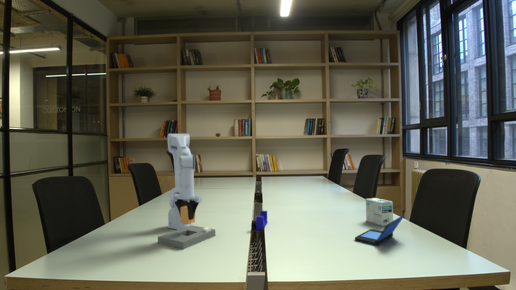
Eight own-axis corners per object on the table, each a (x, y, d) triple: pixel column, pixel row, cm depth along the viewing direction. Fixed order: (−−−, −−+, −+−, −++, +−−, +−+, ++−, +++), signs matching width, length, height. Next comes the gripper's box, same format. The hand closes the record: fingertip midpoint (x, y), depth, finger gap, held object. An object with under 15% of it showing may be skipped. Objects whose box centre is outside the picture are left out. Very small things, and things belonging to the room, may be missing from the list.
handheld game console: (370, 232, 124) (370, 210, 123) (404, 239, 114) (404, 215, 114) (353, 241, 112) (353, 217, 112) (388, 249, 103) (388, 223, 103)
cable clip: (258, 222, 141) (258, 210, 141) (267, 223, 140) (267, 210, 140) (253, 230, 129) (252, 216, 129) (263, 230, 128) (262, 217, 128)
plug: (180, 224, 117) (180, 207, 117) (188, 222, 121) (187, 205, 121) (187, 225, 115) (187, 208, 115) (195, 223, 119) (194, 206, 119)
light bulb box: (393, 224, 133) (393, 201, 133) (382, 226, 131) (382, 202, 131) (376, 219, 143) (376, 197, 143) (365, 220, 140) (365, 198, 140)
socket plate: (157, 242, 114) (157, 234, 114) (190, 230, 129) (190, 222, 129) (183, 249, 106) (183, 239, 106) (215, 235, 122) (215, 227, 122)
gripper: (166, 185, 118) (167, 218, 118) (192, 187, 111) (193, 223, 111) (179, 183, 124) (180, 214, 124) (205, 185, 117) (205, 218, 117)
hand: (187, 218), depth 118 cm, fingers closed on plug, 4 cm apart
